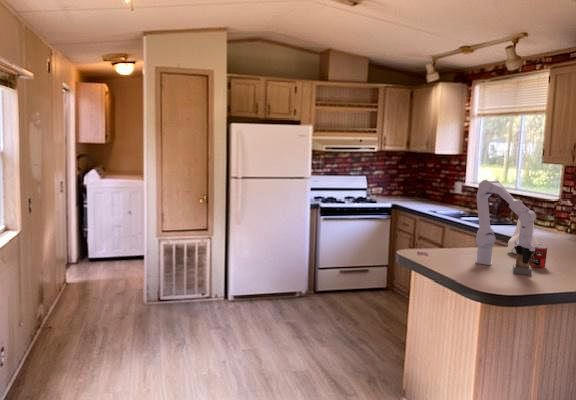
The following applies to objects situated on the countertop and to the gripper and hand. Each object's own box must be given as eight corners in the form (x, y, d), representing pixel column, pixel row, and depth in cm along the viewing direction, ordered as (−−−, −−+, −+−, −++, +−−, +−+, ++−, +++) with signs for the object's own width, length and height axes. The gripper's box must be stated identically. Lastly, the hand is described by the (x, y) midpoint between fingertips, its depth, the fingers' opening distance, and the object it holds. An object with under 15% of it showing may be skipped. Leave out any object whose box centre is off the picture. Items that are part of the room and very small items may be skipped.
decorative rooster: (508, 249, 308) (512, 208, 304) (537, 253, 300) (542, 211, 297) (504, 257, 286) (509, 213, 282) (535, 262, 278) (540, 216, 275)
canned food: (525, 265, 270) (527, 244, 269) (536, 264, 274) (538, 244, 272) (537, 269, 263) (539, 248, 262) (548, 268, 267) (550, 247, 265)
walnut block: (515, 265, 256) (516, 253, 255) (523, 265, 257) (524, 253, 256) (520, 267, 252) (521, 255, 251) (527, 267, 253) (529, 255, 252)
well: (512, 269, 260) (513, 263, 260) (529, 271, 257) (530, 265, 257) (513, 273, 253) (513, 267, 252) (530, 275, 250) (531, 269, 249)
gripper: (510, 232, 259) (507, 258, 261) (526, 238, 245) (523, 265, 246) (523, 232, 260) (520, 258, 262) (540, 238, 245) (537, 266, 247)
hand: (522, 262), depth 254 cm, fingers open, 4 cm apart
